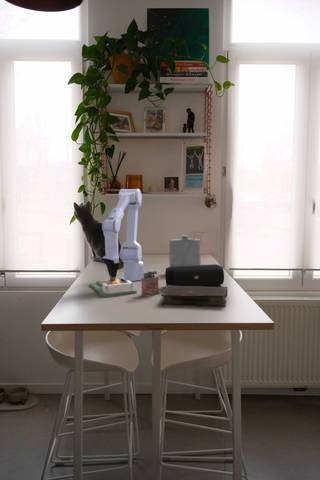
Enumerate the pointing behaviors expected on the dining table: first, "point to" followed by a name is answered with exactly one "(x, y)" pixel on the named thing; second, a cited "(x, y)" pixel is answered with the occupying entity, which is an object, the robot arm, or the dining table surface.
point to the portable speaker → (195, 275)
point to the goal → (117, 287)
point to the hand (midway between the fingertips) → (112, 276)
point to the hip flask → (184, 251)
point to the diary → (194, 296)
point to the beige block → (111, 280)
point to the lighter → (150, 284)
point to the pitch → (98, 288)
